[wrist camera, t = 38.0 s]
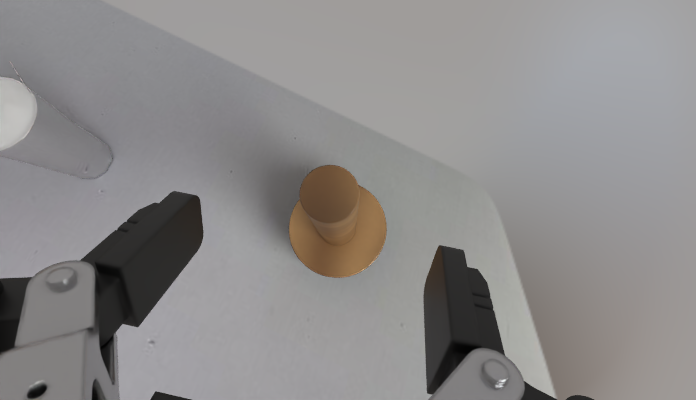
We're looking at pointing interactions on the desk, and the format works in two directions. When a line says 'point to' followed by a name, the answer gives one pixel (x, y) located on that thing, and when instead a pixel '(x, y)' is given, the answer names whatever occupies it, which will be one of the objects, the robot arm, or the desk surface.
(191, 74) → the desk surface
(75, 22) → the desk surface
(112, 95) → the desk surface
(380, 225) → the brush
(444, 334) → the robot arm
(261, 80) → the desk surface
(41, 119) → the milkshake
